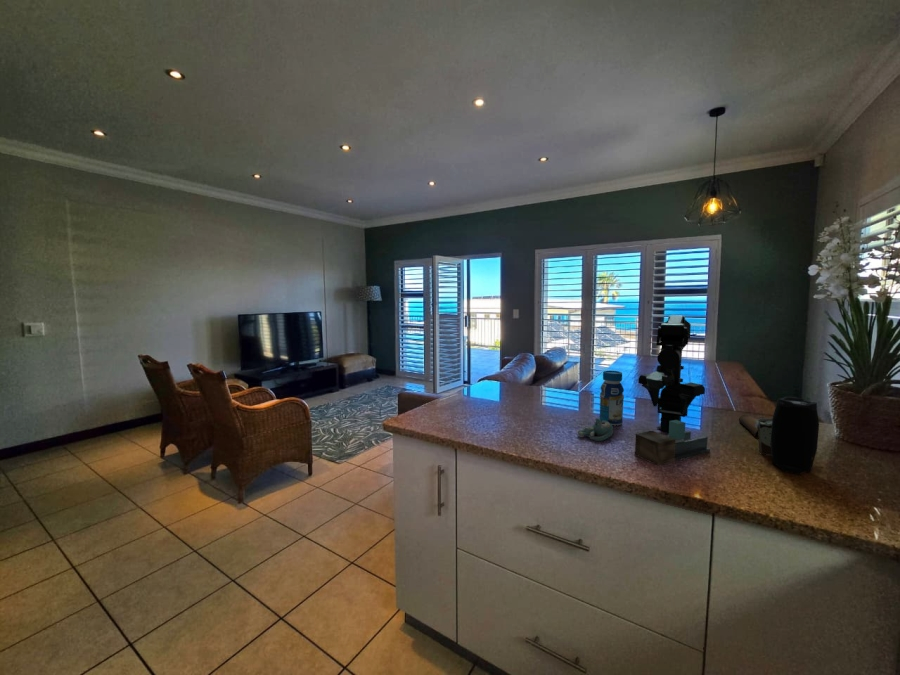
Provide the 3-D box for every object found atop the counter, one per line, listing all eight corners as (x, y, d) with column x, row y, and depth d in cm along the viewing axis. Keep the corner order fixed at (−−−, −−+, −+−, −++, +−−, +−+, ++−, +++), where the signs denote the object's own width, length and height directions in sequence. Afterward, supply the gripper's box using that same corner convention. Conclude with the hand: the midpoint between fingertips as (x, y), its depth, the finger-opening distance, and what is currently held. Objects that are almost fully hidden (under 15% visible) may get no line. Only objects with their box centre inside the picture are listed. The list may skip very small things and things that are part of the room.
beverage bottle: (601, 417, 145) (603, 369, 144) (624, 421, 140) (626, 371, 139) (596, 423, 139) (598, 372, 137) (620, 427, 134) (622, 374, 132)
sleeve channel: (684, 442, 119) (685, 429, 118) (710, 452, 112) (710, 438, 111) (650, 450, 113) (651, 437, 112) (675, 461, 105) (675, 446, 105)
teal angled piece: (673, 445, 113) (675, 419, 113) (684, 449, 110) (686, 423, 109) (644, 452, 108) (645, 425, 108) (655, 456, 105) (656, 429, 104)
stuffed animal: (571, 417, 130) (603, 410, 130) (574, 436, 130) (606, 429, 130) (582, 427, 119) (618, 420, 119) (586, 448, 120) (621, 441, 120)
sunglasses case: (787, 441, 119) (775, 423, 120) (763, 449, 122) (752, 431, 123) (765, 425, 136) (755, 409, 136) (745, 432, 138) (735, 416, 139)
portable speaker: (823, 476, 96) (830, 404, 94) (785, 475, 96) (792, 404, 95) (795, 462, 104) (801, 396, 102) (760, 461, 105) (766, 395, 103)
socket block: (650, 450, 113) (651, 430, 112) (675, 461, 105) (676, 439, 105) (634, 454, 110) (635, 433, 109) (658, 465, 103) (659, 443, 102)
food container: (793, 451, 112) (796, 419, 111) (805, 459, 106) (808, 426, 105) (745, 446, 116) (748, 416, 115) (754, 453, 110) (757, 422, 109)
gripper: (627, 360, 120) (625, 405, 122) (683, 370, 103) (680, 423, 105) (650, 357, 124) (648, 401, 126) (707, 366, 107) (704, 417, 109)
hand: (668, 410), depth 116 cm, fingers open, 9 cm apart
